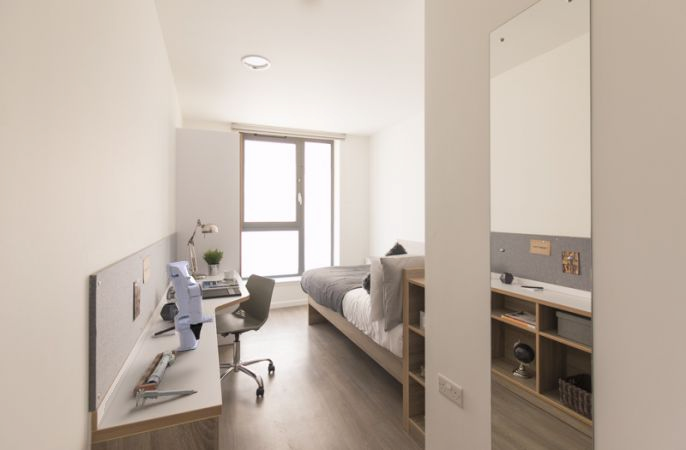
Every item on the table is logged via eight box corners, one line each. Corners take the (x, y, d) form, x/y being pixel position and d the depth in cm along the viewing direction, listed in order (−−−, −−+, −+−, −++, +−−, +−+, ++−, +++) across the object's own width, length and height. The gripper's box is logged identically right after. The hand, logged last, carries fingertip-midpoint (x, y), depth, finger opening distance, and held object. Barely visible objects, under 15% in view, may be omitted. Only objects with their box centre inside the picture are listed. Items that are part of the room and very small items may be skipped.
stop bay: (158, 358, 160) (157, 352, 160) (175, 356, 162) (175, 350, 161) (134, 395, 129) (133, 388, 129) (155, 391, 131) (154, 384, 130)
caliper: (136, 407, 121) (134, 391, 121) (136, 406, 122) (135, 389, 122) (197, 392, 129) (196, 377, 128) (197, 391, 130) (196, 375, 129)
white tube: (143, 381, 132) (162, 347, 156) (146, 396, 133) (164, 359, 157) (158, 379, 133) (174, 345, 157) (160, 394, 134) (176, 358, 158)
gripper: (176, 315, 150) (179, 344, 151) (210, 311, 154) (213, 339, 155) (179, 310, 157) (182, 338, 158) (212, 306, 161) (215, 334, 162)
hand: (197, 339), depth 157 cm, fingers closed
